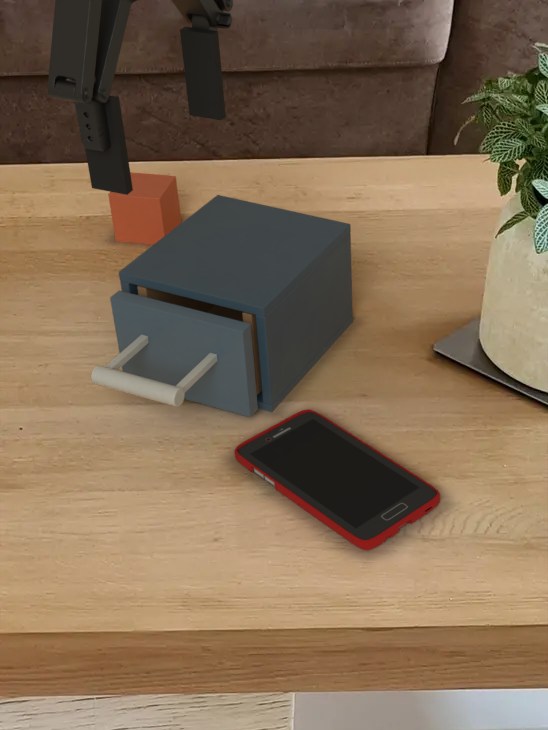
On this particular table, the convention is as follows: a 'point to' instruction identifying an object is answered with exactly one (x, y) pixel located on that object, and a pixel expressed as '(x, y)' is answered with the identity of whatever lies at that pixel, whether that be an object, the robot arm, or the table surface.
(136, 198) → the block
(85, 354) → the table surface
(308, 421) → the cell phone
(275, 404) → the cabinet
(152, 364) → the drawer
